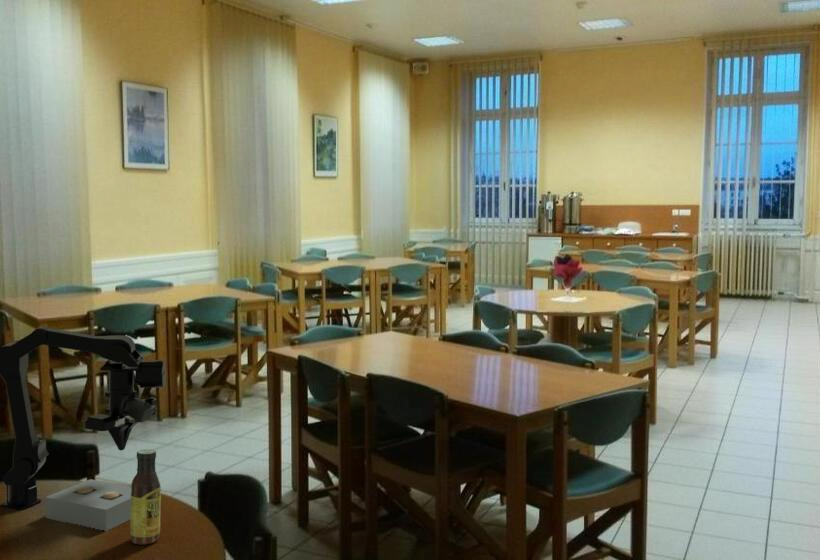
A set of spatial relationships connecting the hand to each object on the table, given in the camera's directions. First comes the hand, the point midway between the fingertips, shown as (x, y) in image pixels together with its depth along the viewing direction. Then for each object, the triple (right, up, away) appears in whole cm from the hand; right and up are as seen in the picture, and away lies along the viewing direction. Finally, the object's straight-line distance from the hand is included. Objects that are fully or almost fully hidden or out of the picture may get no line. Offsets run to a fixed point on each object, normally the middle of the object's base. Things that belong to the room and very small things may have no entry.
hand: (121, 449), depth 194 cm
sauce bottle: (+13, -15, -21) cm, 30 cm away
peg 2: (+1, -14, -9) cm, 17 cm away
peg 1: (-6, -13, -6) cm, 16 cm away
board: (-3, -14, -8) cm, 16 cm away
